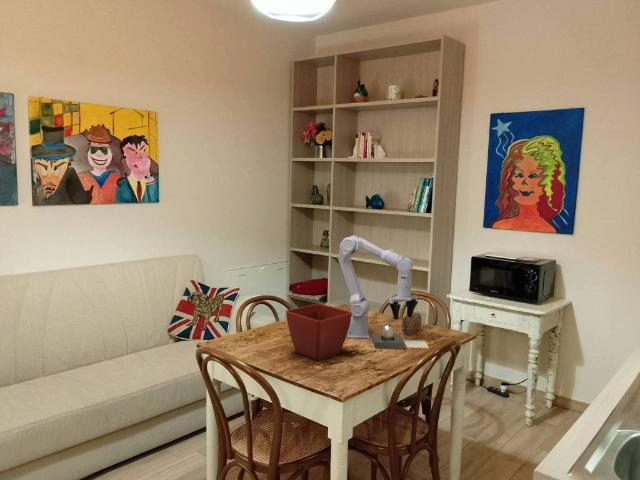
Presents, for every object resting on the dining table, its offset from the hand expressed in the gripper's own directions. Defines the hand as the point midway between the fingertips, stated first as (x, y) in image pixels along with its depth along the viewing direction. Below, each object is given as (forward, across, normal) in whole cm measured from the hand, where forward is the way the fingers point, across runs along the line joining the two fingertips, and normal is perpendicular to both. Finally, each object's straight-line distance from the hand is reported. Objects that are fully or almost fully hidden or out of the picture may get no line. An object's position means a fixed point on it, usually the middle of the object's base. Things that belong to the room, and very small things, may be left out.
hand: (402, 317), depth 219 cm
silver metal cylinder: (+10, -8, 0) cm, 13 cm away
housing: (+10, -8, 0) cm, 13 cm away
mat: (+10, +2, -7) cm, 12 cm away
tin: (+10, +13, +8) cm, 18 cm away
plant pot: (+11, -39, +4) cm, 41 cm away
